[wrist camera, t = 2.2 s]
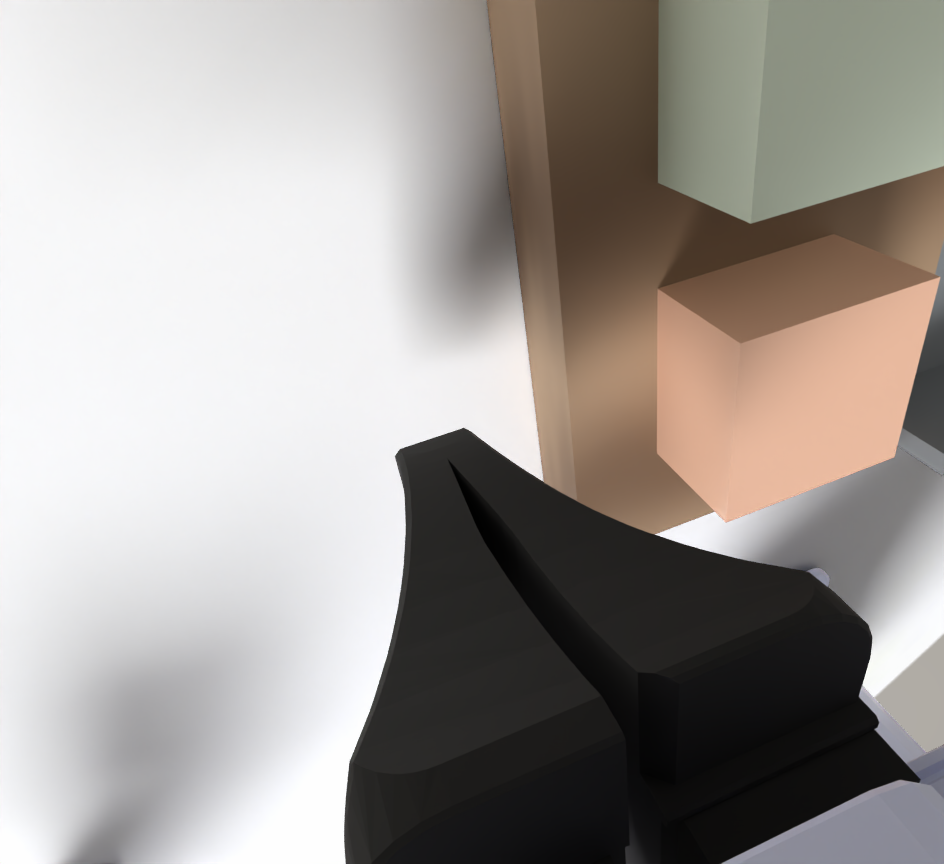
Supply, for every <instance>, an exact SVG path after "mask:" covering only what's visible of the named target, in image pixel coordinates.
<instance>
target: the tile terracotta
mask: <svg viewBox="0 0 944 864" xmlns="http://www.w3.org/2000/svg"><path fill="white" fill-rule="evenodd" d="M939 281H940V276H937V275H935V274H932V273H930V272H927V271H925V270H922V269H920V268H917V267H915V266H912V265H910V264H907V263H905V262H902V261H900V260H897V259H895V258H892V257H890V256H887V255H885V254H882V253H880V252H877V251H875V250H872V249H870V248H867V247H865V246H863V245H860V244H858V243H855V242H853V241H850V240H848V239H845V238H843V237H840V236H838V235H835V234H832V235H829V236H826V237H823V238H819V239H816V240H813V241H810V242H807V243H803V244H800V245H797V246H794V247H790V248H787V249H784V250H781V251H777V252H774V253H771V254H768V255H765V256H761V257H758V258H755V259H752V260H748V261H745V262H742V263H739V264H735V265H732V266H729V267H726V268H723V269H719V270H716V271H713V272H710V273H706V274H703V275H700V276H697V277H693V278H690V279H687V280H684V281H681V282H677V283H674V284H671V285H668V286H664V287H661V288H658V296H657V454H658V455H659V456H660V457H661V458H662V459H663V460H664V461H665V462H666V463H667V464H668V465H669V466H670V467H671V468H672V469H673V470H674V471H675V472H676V473H677V474H678V475H679V476H680V477H681V478H682V479H683V480H684V481H685V482H686V483H687V484H688V485H689V486H690V487H691V488H692V489H693V490H694V491H695V492H696V493H697V494H698V495H699V496H700V497H701V498H702V499H703V500H704V501H705V502H706V503H707V504H708V505H709V506H710V507H711V508H712V509H713V510H714V511H715V512H716V513H717V514H718V515H719V516H720V517H721V518H722V519H723V520H724V521H725V522H729V521H732V520H734V519H737V518H739V517H742V516H744V515H747V514H750V513H752V512H755V511H757V510H760V509H762V508H765V507H768V506H770V505H773V504H775V503H778V502H781V501H783V500H786V499H788V498H791V497H793V496H796V495H799V494H801V493H804V492H806V491H809V490H811V489H814V488H817V487H819V486H822V485H824V484H827V483H830V482H832V481H835V480H837V479H840V478H842V477H845V476H848V475H850V474H853V473H855V472H858V471H861V470H863V469H866V468H868V467H871V466H873V465H876V464H879V463H881V462H884V461H886V460H889V459H891V458H894V457H895V453H896V449H897V445H898V441H899V438H900V434H901V430H902V426H903V422H904V418H905V414H906V410H907V406H908V402H909V398H910V394H911V390H912V387H913V383H914V379H915V375H916V371H917V367H918V363H919V359H920V355H921V351H922V347H923V343H924V340H925V336H926V332H927V328H928V324H929V320H930V316H931V312H932V308H933V304H934V300H935V296H936V293H937V289H938V285H939Z"/></svg>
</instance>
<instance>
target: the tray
mask: <svg viewBox="0 0 944 864" xmlns="http://www.w3.org/2000/svg"><path fill="white" fill-rule="evenodd" d="M935 275H937V276H940V281H939V285H938V289H937V293H936V296H935V300H934V304H933V308H932V312H931V316H930V320H929V324H928V328H927V332H926V336H925V340H924V343H923V347H922V351H921V355H920V359H919V363H918V367H917V371H916V375H915V379H914V383H913V387H912V390H911V394H910V398H909V402H908V406H907V410H906V414H905V418H904V422H903V426H902V430H901V434H900V438H899V441H898V445H897V446H898V447H899V448H901V449H902V450H904V451H905V452H907V453H908V454H910V455H911V456H913V457H914V458H916V459H918V460H919V461H921V462H922V463H924V464H925V465H927V466H928V467H930V468H931V469H933V470H934V471H936V472H937V473H939V474H940V475H944V241H943V245H942V249H941V253H940V257H939V261H938V265H937V269H936V273H935Z"/></svg>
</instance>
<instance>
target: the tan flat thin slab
mask: <svg viewBox="0 0 944 864" xmlns="http://www.w3.org/2000/svg"><path fill="white" fill-rule="evenodd" d="M487 7H488V16H489V24H490V32H491V41H492V49H493V58H494V66H495V75H496V83H497V91H498V100H499V108H500V117H501V125H502V134H503V142H504V150H505V159H506V167H507V176H508V184H509V192H510V201H511V209H512V218H513V226H514V235H515V243H516V251H517V260H518V268H519V277H520V285H521V294H522V302H523V310H524V319H525V327H526V336H527V344H528V352H529V361H530V369H531V378H532V386H533V395H534V403H535V411H536V420H537V428H538V437H539V445H540V454H541V462H542V470H543V479H544V483H546V484H548V485H549V486H551V487H553V488H554V489H556V490H558V491H560V492H561V493H563V494H565V495H567V496H569V497H570V498H572V499H574V500H576V501H578V502H580V503H582V504H584V505H585V506H587V507H589V508H591V509H593V510H595V511H598V512H600V513H602V514H604V515H606V516H609V517H611V518H613V519H615V520H618V521H620V522H622V523H625V524H627V525H630V526H632V527H635V528H637V529H640V530H643V531H645V532H648V533H651V534H657V533H660V532H662V531H665V530H668V529H670V528H673V527H675V526H678V525H681V524H683V523H686V522H688V521H691V520H694V519H696V518H699V517H702V516H704V515H707V514H709V513H712V512H715V511H714V510H713V509H712V508H711V507H710V506H709V505H708V504H707V503H706V502H705V501H704V500H703V499H702V498H701V497H700V496H699V495H698V494H697V493H696V492H695V491H694V490H693V489H692V488H691V487H690V486H689V485H688V484H687V483H686V482H685V481H684V480H683V479H682V478H681V477H680V476H679V475H678V474H677V473H676V472H675V471H674V470H673V469H672V468H671V467H670V466H669V465H668V464H667V463H666V462H665V461H664V460H663V459H662V458H661V457H660V456H659V455H658V454H657V296H658V288H661V287H664V286H668V285H671V284H674V283H677V282H681V281H684V280H687V279H690V278H693V277H697V276H700V275H703V274H706V273H710V272H713V271H716V270H719V269H723V268H726V267H729V266H732V265H735V264H739V263H742V262H745V261H748V260H752V259H755V258H758V257H761V256H765V255H768V254H771V253H774V252H777V251H781V250H784V249H787V248H790V247H794V246H797V245H800V244H803V243H807V242H810V241H813V240H816V239H819V238H823V237H826V236H829V235H832V234H835V235H838V236H840V237H843V238H845V239H848V240H850V241H853V242H855V243H858V244H860V245H863V246H865V247H867V248H870V249H872V250H875V251H877V252H880V253H882V254H885V255H887V256H890V257H892V258H895V259H897V260H900V261H902V262H905V263H907V264H910V265H912V266H915V267H917V268H920V269H922V270H925V271H927V272H930V273H932V274H935V273H936V269H937V265H938V261H939V257H940V253H941V249H942V245H943V241H944V166H942V167H939V168H936V169H932V170H929V171H926V172H922V173H919V174H916V175H912V176H909V177H905V178H902V179H899V180H895V181H892V182H889V183H885V184H882V185H879V186H875V187H872V188H869V189H865V190H862V191H859V192H855V193H852V194H848V195H845V196H842V197H838V198H835V199H832V200H828V201H825V202H822V203H818V204H815V205H812V206H808V207H805V208H802V209H798V210H795V211H791V212H788V213H785V214H781V215H778V216H775V217H771V218H768V219H765V220H761V221H758V222H755V223H751V224H750V223H748V222H746V221H743V220H741V219H739V218H737V217H734V216H732V215H730V214H728V213H725V212H723V211H721V210H718V209H716V208H714V207H712V206H709V205H707V204H705V203H703V202H700V201H698V200H696V199H694V198H691V197H689V196H687V195H685V194H682V193H680V192H678V191H675V190H673V189H671V188H669V187H666V186H664V185H662V184H660V183H658V39H659V0H487Z"/></svg>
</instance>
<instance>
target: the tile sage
mask: <svg viewBox="0 0 944 864" xmlns="http://www.w3.org/2000/svg"><path fill="white" fill-rule="evenodd" d="M942 166H944V0H659V39H658V183H660V184H662V185H664V186H666V187H669V188H671V189H673V190H675V191H678V192H680V193H682V194H685V195H687V196H689V197H691V198H694V199H696V200H698V201H700V202H703V203H705V204H707V205H709V206H712V207H714V208H716V209H718V210H721V211H723V212H725V213H728V214H730V215H732V216H734V217H737V218H739V219H741V220H743V221H746V222H748V223H750V224H751V223H755V222H758V221H761V220H765V219H768V218H771V217H775V216H778V215H781V214H785V213H788V212H791V211H795V210H798V209H802V208H805V207H808V206H812V205H815V204H818V203H822V202H825V201H828V200H832V199H835V198H838V197H842V196H845V195H848V194H852V193H855V192H859V191H862V190H865V189H869V188H872V187H875V186H879V185H882V184H885V183H889V182H892V181H895V180H899V179H902V178H905V177H909V176H912V175H916V174H919V173H922V172H926V171H929V170H932V169H936V168H939V167H942Z"/></svg>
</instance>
